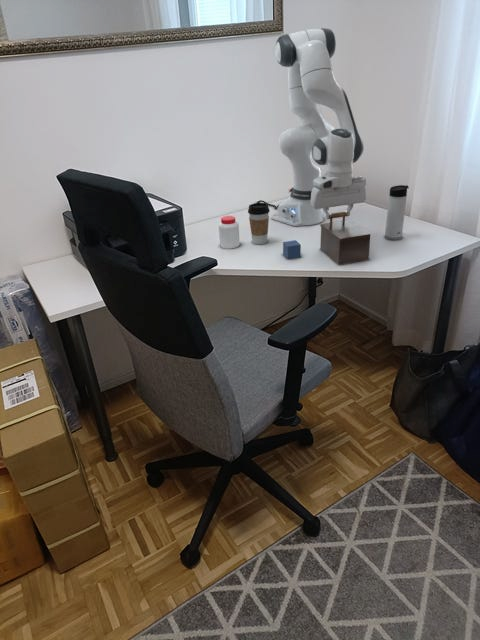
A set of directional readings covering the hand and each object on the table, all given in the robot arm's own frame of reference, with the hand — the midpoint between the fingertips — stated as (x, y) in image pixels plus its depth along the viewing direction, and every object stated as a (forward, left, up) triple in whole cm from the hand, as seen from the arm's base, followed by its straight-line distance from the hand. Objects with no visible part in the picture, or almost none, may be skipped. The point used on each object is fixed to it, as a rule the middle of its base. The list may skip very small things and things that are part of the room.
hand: (337, 217), depth 179 cm
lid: (+5, -3, -3) cm, 7 cm away
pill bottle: (-37, -19, -12) cm, 43 cm away
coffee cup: (-29, -10, -12) cm, 33 cm away
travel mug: (+13, +21, -12) cm, 28 cm away
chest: (+5, -4, -12) cm, 14 cm away
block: (-10, -15, -12) cm, 22 cm away
